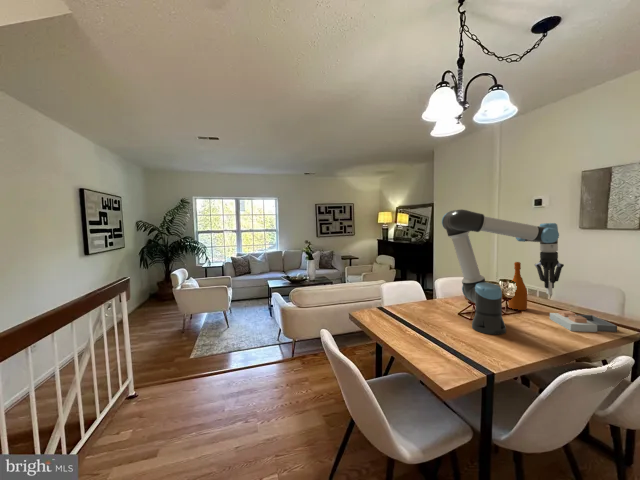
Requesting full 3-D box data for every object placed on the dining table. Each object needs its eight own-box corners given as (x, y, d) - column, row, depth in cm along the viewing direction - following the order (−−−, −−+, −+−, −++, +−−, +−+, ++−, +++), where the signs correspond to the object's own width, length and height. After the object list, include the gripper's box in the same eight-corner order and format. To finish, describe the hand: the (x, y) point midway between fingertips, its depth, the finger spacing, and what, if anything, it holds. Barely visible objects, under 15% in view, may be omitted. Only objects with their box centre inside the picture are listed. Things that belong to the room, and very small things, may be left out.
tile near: (575, 322, 139) (575, 318, 139) (568, 319, 144) (568, 315, 144) (586, 322, 138) (586, 318, 138) (579, 319, 143) (579, 315, 143)
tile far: (564, 316, 147) (564, 313, 147) (558, 313, 152) (558, 310, 152) (575, 317, 146) (575, 313, 146) (569, 314, 151) (569, 310, 151)
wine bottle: (530, 311, 169) (530, 262, 168) (512, 310, 171) (512, 263, 170) (522, 306, 179) (522, 260, 177) (505, 306, 181) (505, 261, 179)
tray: (596, 331, 136) (596, 325, 136) (573, 319, 152) (573, 314, 152) (617, 331, 134) (617, 325, 134) (592, 320, 150) (592, 315, 150)
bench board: (570, 330, 137) (570, 324, 137) (549, 318, 155) (549, 312, 154) (597, 332, 134) (597, 325, 134) (572, 319, 152) (572, 313, 152)
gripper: (538, 252, 147) (539, 295, 148) (567, 251, 144) (567, 295, 145) (531, 251, 155) (532, 292, 156) (558, 250, 152) (558, 292, 153)
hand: (549, 294), depth 150 cm, fingers closed
